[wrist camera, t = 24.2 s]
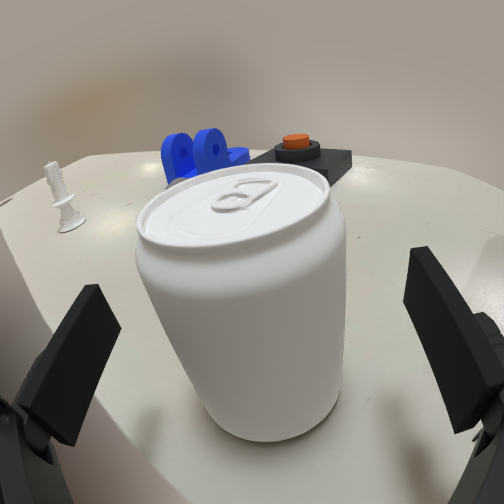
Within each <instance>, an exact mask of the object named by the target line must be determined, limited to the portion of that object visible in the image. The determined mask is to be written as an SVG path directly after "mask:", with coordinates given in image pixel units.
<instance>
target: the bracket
mask: <svg viewBox="0 0 504 504" xmlns="http://www.w3.org/2000/svg"><path fill="white" fill-rule="evenodd" d="M161 159H162V163H163V167H164V171H165V175H166V178H167V182H168V185H169V184H170V183H171V181H173V180H175V179H176V178H179V177H181V178H193V177H196V176H198V175H201V174H205V173H208V172H211V171H215V170H219V169H224V168H229V167H234V166H240V165H243V164H245V163H247V162H249V161H250V155H249V149H247V148H243V147H237V148H228V149H227V145H226V141H225V138H224V136H223V134H222V133H221V131H220V130H218V129H216V128H213V129H205V130H201V131H199V132H198V133H197V134H196V136H195V138H194V141H192V139H191V138H190V137H189V135H187V134H185V133H179V134H173V135H169V136H167V138H166V139H165V140H164V142H163V144H162V147H161Z"/></svg>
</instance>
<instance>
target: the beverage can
mask: <svg viewBox="0 0 504 504" xmlns="http://www.w3.org/2000/svg"><path fill="white" fill-rule="evenodd" d="M136 228H137V231H138V234H139V239H138V242H137V247H136V264H137V269H138V271H139V274H140V276H141V279H142V281H143V283H144V286H145V288H146V290H147V293H148V295H149V297H150V299H151V302H152V304H153V306H154V308H155V310H156V313H157V315H158V317H159V319H160V321H161V323H162V325H163V328H164V330H165V332H166V334H167V336H168V338H169V340H170V342H171V344H172V346H173V348H174V350H175V352H176V354H177V356H178V358H179V360H180V362H181V364H182V366H183V368H184V369H185V371H186V373H187V375H188V377H189V379H190V381H191V383H192V384H193V386H194V388H195V390H196V392H197V394H198V395H199V397H200V399H201V401H202V403H203V404H204V406H205V408H206V409H207V411H208V413H209V414H210V416H211V417H212V419H213V420H214V421H215V422H216V423H217V424H218V425H219V426H220V427H221V428H223V429H224V430H226V431H227V432H229V433H231V434H233V435H235V436H237V437H240V438H243V439H247V440H251V441H259V442H273V441H281V440H286V439H290V438H293V437H296V436H298V435H300V434H303V433H305V432H306V431H308V430H310V429H312V428H313V427H314V426H316V425H317V424H318V423H320V422H321V421H322V420H323V419H324V418H325V417H326V416H327V415H328V413H329V412H330V411H331V409H332V408H333V406H334V405H335V403H336V401H337V398H338V396H339V392H340V387H341V378H342V365H343V350H344V331H345V305H346V226H345V220H344V216H343V213H342V211H341V209H340V207H339V206H338V204H337V203H336V201H335V200H334V199H333V198H332V196H331V195H330V186H329V183H328V181H327V180H326V178H325V177H324V176H322V175H321V174H320V173H318V172H316V171H314V170H312V169H309V168H306V167H302V166H297V165H291V164H281V163H261V164H248V165H240V166H234V167H229V168H224V169H219V170H215V171H211V172H208V173H205V174H201V175H198V176H196V177H193V178H190V179H188V180H185V181H183V182H180V183H178V184H176V185H174V186H172V187H170V188H168V189H167V190H165V191H163V192H162V193H160V194H159V195H157V196H156V197H154V198H153V199H152V200H151V201H149V202H148V203H147V204H146V205H145V206H144V207H143V209H142V210H141V211H140V213H139V215H138V217H137V220H136Z"/></svg>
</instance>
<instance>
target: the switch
mask: <svg viewBox="0 0 504 504" xmlns="http://www.w3.org/2000/svg"><path fill="white" fill-rule="evenodd" d="M283 145H284V148H285V149H300V148H305V147H309V146H310V141H309V135H307V134H293V135H288V136H285V137H283Z"/></svg>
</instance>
